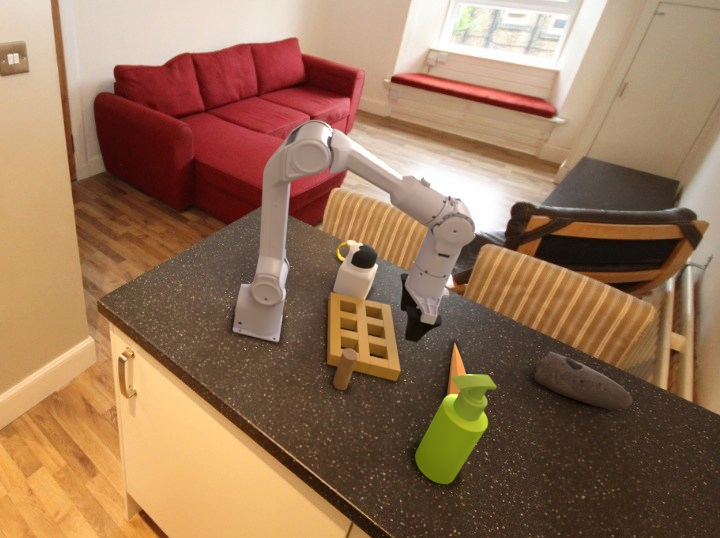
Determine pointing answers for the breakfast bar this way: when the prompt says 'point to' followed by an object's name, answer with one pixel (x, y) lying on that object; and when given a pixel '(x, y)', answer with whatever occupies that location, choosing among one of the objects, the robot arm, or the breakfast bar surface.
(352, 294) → the medicine bottle
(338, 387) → the peg
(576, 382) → the perforated stone tool
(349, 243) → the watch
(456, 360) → the carrot
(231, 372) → the breakfast bar surface
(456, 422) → the soap dispenser
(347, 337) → the peg block
